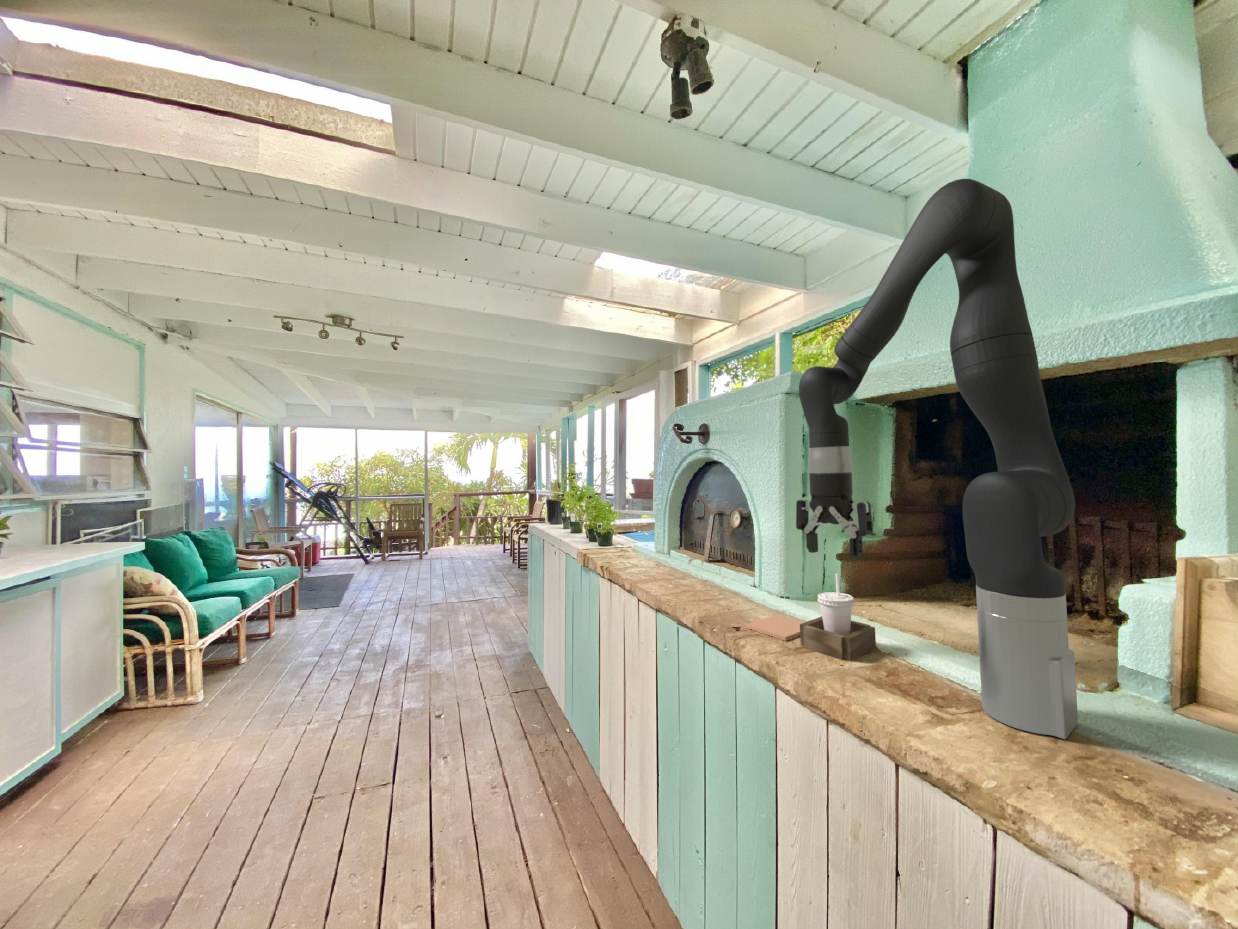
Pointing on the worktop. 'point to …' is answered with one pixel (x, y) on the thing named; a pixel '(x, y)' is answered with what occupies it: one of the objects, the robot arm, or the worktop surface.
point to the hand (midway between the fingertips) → (833, 555)
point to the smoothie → (836, 610)
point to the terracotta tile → (777, 627)
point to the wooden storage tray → (838, 639)
